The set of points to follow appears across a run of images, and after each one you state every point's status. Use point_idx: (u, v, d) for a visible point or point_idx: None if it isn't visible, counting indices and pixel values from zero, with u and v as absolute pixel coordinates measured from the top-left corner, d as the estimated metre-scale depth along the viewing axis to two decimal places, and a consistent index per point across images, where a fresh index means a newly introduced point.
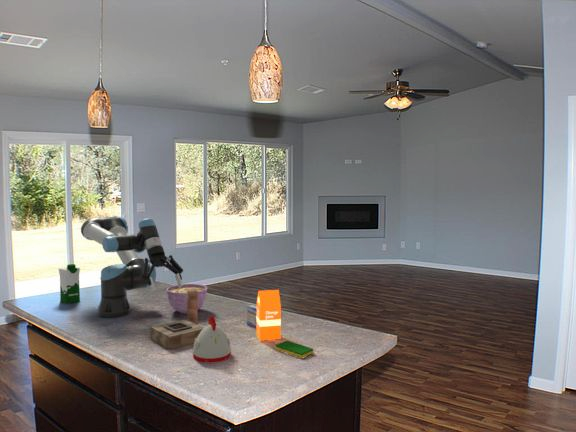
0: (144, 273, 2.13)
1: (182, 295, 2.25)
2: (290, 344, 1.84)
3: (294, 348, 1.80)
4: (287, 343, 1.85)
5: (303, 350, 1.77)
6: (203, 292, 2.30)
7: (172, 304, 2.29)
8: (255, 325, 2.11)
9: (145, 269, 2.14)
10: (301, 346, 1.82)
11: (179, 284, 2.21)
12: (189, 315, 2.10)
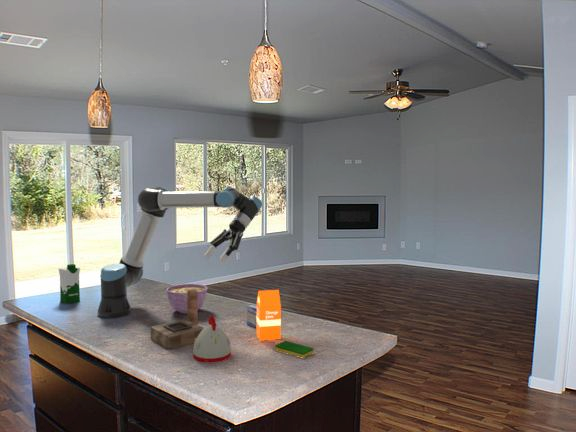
0: None
1: (182, 295, 2.25)
2: (289, 344, 1.84)
3: (294, 348, 1.80)
4: (286, 343, 1.85)
5: (304, 350, 1.78)
6: (203, 292, 2.30)
7: (172, 304, 2.29)
8: (255, 325, 2.11)
9: None
10: (301, 346, 1.82)
11: (208, 255, 2.23)
12: (189, 315, 2.10)
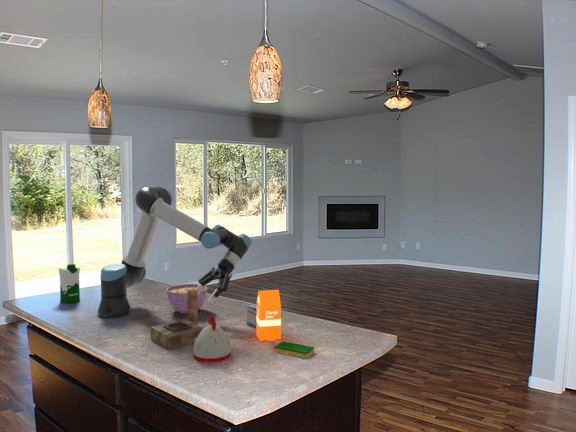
0: None
1: (182, 295, 2.25)
2: (288, 344, 1.84)
3: (295, 348, 1.80)
4: (285, 344, 1.84)
5: (305, 349, 1.78)
6: (203, 292, 2.30)
7: (172, 304, 2.29)
8: (255, 325, 2.11)
9: None
10: (301, 345, 1.82)
11: None
12: (189, 315, 2.10)
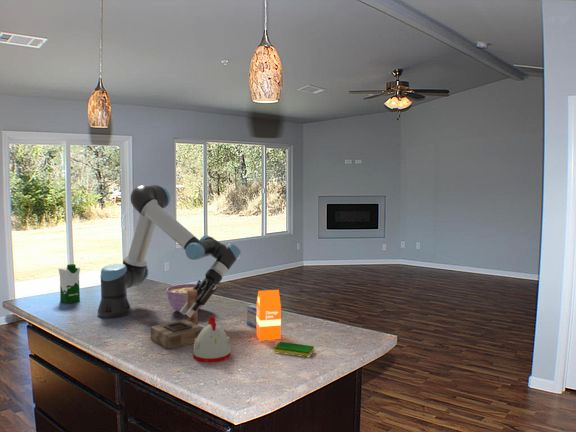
0: None
1: (182, 295, 2.25)
2: (287, 344, 1.83)
3: (296, 348, 1.80)
4: (284, 344, 1.84)
5: (306, 348, 1.79)
6: None
7: (172, 304, 2.29)
8: (255, 325, 2.11)
9: None
10: (300, 345, 1.83)
11: (184, 311, 2.11)
12: None
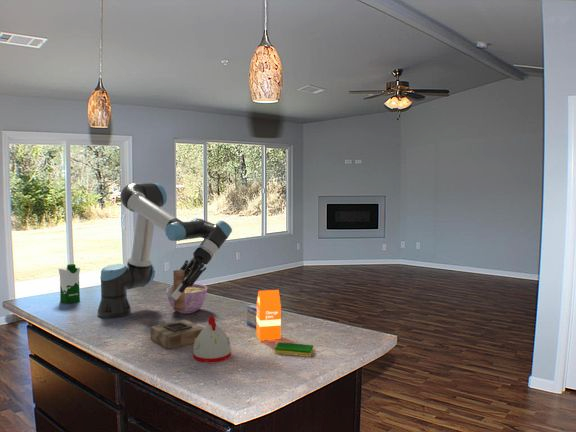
0: None
1: None
2: (287, 345, 1.83)
3: (297, 348, 1.80)
4: (284, 344, 1.83)
5: (307, 348, 1.80)
6: (203, 292, 2.30)
7: (172, 304, 2.29)
8: (255, 325, 2.11)
9: None
10: (300, 345, 1.83)
11: (170, 293, 1.93)
12: None
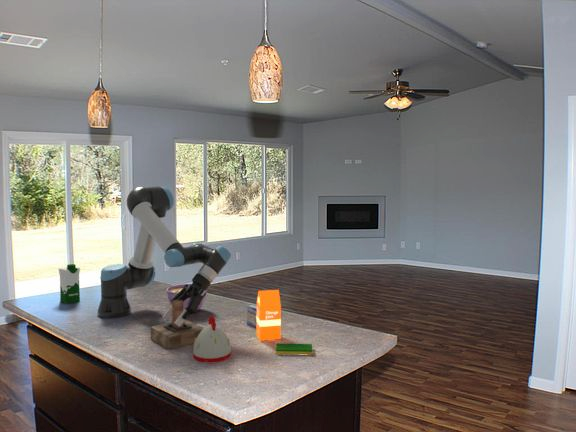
0: None
1: None
2: (286, 345, 1.83)
3: (297, 347, 1.80)
4: (283, 345, 1.82)
5: (307, 347, 1.81)
6: None
7: None
8: (255, 325, 2.11)
9: None
10: (299, 344, 1.84)
11: (167, 316, 1.95)
12: (174, 328, 1.92)
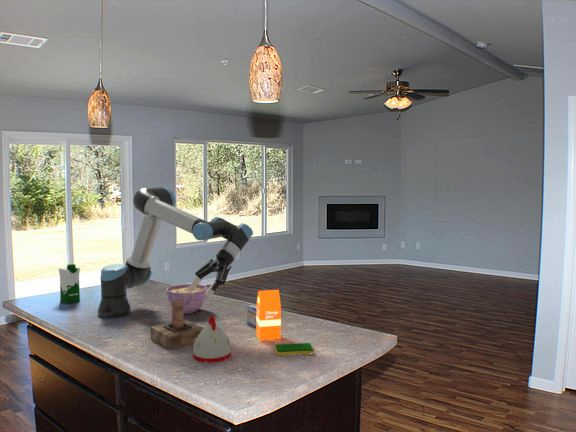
0: None
1: (182, 295, 2.25)
2: (286, 345, 1.82)
3: (298, 347, 1.80)
4: (283, 346, 1.82)
5: (307, 346, 1.82)
6: (203, 292, 2.30)
7: None
8: (255, 325, 2.11)
9: None
10: (298, 344, 1.84)
11: (192, 287, 2.04)
12: (174, 328, 1.92)
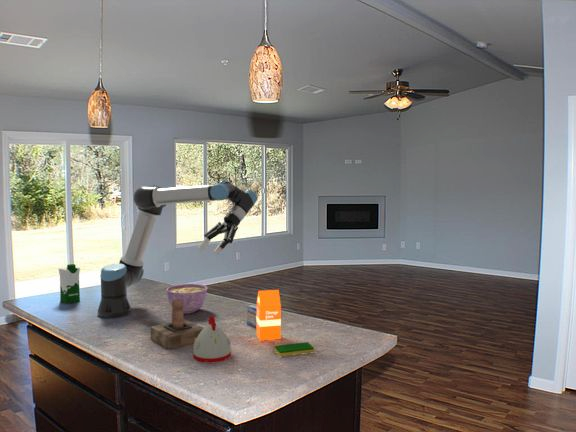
0: None
1: (182, 295, 2.25)
2: (285, 346, 1.82)
3: (298, 347, 1.81)
4: (283, 347, 1.81)
5: (307, 345, 1.83)
6: (203, 292, 2.30)
7: None
8: (255, 325, 2.11)
9: None
10: (297, 344, 1.84)
11: (201, 247, 2.21)
12: (174, 328, 1.92)
